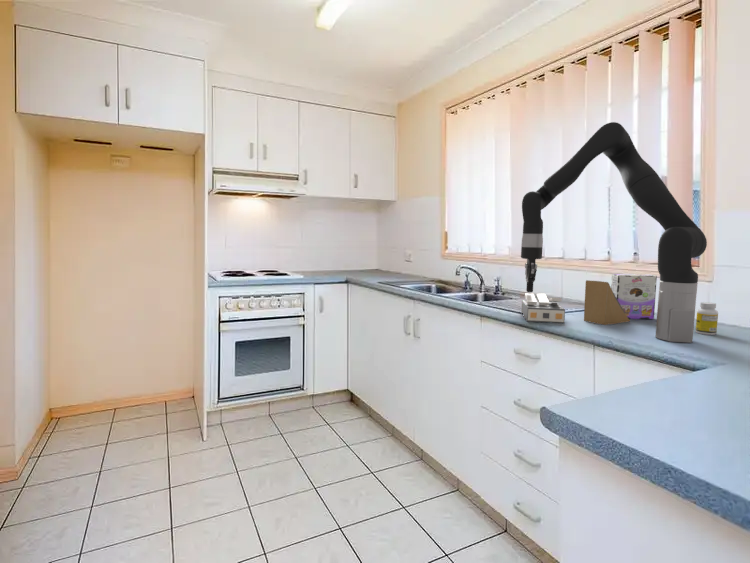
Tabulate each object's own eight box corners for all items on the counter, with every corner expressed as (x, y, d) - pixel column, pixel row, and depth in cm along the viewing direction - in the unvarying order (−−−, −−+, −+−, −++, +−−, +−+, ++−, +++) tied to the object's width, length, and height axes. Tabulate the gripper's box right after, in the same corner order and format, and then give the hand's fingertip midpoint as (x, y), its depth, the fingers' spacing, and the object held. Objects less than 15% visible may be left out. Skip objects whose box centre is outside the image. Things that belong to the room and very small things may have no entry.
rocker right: (561, 301, 158) (561, 297, 158) (552, 300, 159) (552, 297, 159) (556, 302, 167) (556, 299, 167) (547, 301, 168) (547, 298, 168)
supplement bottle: (695, 330, 145) (698, 301, 144) (716, 333, 142) (719, 302, 141) (694, 333, 141) (697, 303, 140) (716, 336, 137) (719, 304, 136)
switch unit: (564, 323, 154) (565, 307, 153) (527, 321, 157) (528, 305, 156) (554, 314, 172) (555, 299, 171) (521, 312, 175) (522, 298, 174)
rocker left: (536, 305, 160) (536, 301, 160) (527, 304, 161) (527, 301, 161) (533, 296, 169) (533, 293, 168) (524, 296, 169) (524, 293, 169)
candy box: (646, 316, 170) (649, 274, 168) (654, 319, 164) (657, 275, 162) (608, 315, 171) (611, 273, 169) (615, 318, 165) (618, 274, 164)
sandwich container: (631, 321, 160) (634, 280, 159) (605, 325, 153) (608, 282, 151) (608, 317, 168) (611, 278, 166) (583, 321, 160) (585, 279, 159)
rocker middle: (548, 305, 159) (549, 302, 159) (539, 305, 160) (539, 302, 160) (545, 297, 168) (545, 294, 167) (536, 296, 168) (536, 293, 168)
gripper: (545, 246, 159) (542, 294, 161) (539, 245, 172) (537, 290, 174) (523, 246, 160) (521, 293, 162) (519, 245, 173) (517, 289, 175)
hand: (529, 291), depth 168 cm, fingers closed
